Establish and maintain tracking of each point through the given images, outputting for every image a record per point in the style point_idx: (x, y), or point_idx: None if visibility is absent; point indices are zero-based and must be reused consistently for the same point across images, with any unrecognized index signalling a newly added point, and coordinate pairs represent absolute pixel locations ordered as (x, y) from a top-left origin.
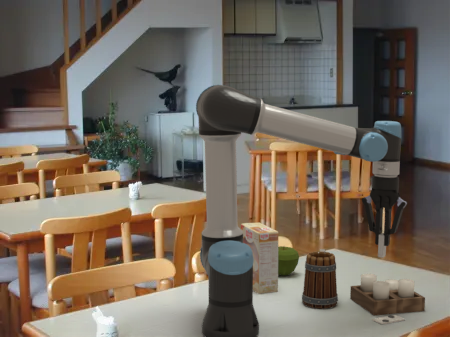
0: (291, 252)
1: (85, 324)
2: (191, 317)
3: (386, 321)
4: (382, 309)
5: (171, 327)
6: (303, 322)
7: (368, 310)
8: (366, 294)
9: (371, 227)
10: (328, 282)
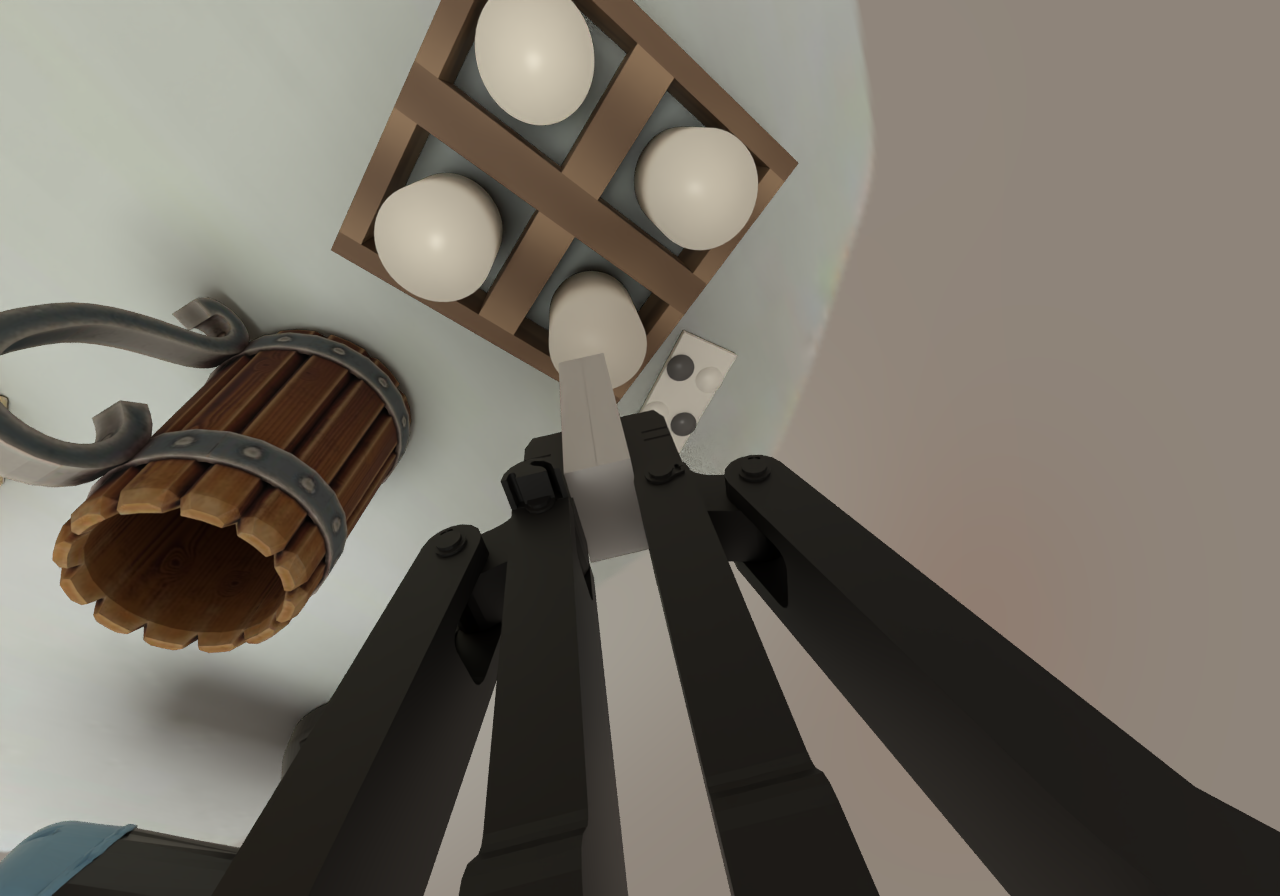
0: None
1: None
2: (189, 750)
3: (690, 430)
4: None
5: (244, 801)
6: None
7: None
8: (514, 337)
9: (489, 642)
10: (365, 505)
